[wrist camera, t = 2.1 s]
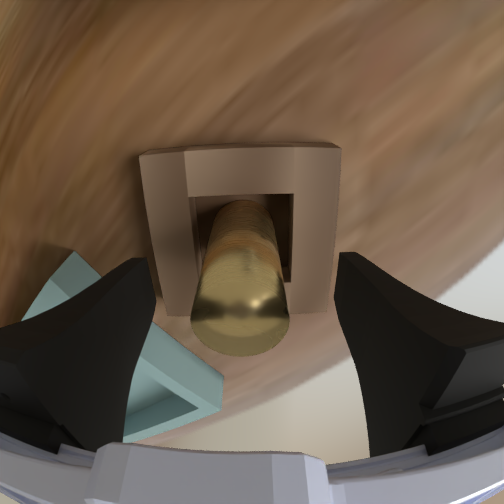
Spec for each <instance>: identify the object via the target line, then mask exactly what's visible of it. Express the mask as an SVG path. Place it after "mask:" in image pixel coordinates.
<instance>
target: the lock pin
mask: <svg viewBox="0 0 504 504" xmlns="http://www.w3.org/2000/svg"><path fill="white" fill-rule="evenodd" d="M190 319H191V325H192V329H193V331H194V333H195V335H196V336H197V337H198V339H199V340H200V341H201V342H202V343H203V344H204V345H206V346H207V347H209V348H210V349H212V350H214V351H216V352H219V353H222V354H225V355H230V356H240V357H243V356H253V355H257V354H260V353H263V352H266V351H268V350H270V349H271V348H273V347H275V346H276V345H277V344H278V343H279V342H280V341H281V340H282V339H283V338H284V336H285V335H286V333H287V330H288V327H289V322H290V320H289V311H288V305H287V299H286V293H285V287H284V281H283V275H282V270H281V264H280V258H279V252H278V247H277V241H276V235H275V230H274V224H273V220H272V217H271V215H270V214H269V212H268V211H267V210H266V209H265V208H264V207H263V206H262V205H260V204H258V203H256V202H253V201H249V200H237V201H233V202H231V203H229V204H227V205H225V206H224V207H223V208H221V209H220V211H219V212H218V213H217V215H216V217H215V219H214V223H213V227H212V230H211V234H210V238H209V242H208V246H207V250H206V254H205V257H204V261H203V265H202V269H201V273H200V277H199V282H198V286H197V290H196V294H195V298H194V302H193V306H192V311H191V318H190Z"/></svg>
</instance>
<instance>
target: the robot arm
mask: <svg viewBox="0 0 504 504" xmlns="http://www.w3.org/2000/svg"><path fill="white" fill-rule="evenodd" d="M334 301H335V306H336V311H337V315H338V319H339V322H340V325H341V327H342V330H343V333H344V336H345V338H346V341H347V344H348V347H349V349H350V352H351V355H352V358H353V360H354V363H355V366H356V370H357V373H358V377H359V382H360V387H361V391H362V396H363V403H364V409H365V415H366V422H367V430H368V438H369V450H370V458H366V459H360V460H355V461H349V462H343V463H336V464H329V465H325V463H324V461H323V460H321V459H319V458H317V457H314V456H310V455H307V454H304V453H301V452H282V451H252V452H251V451H250V452H234V451H231V452H230V451H204V450H188V449H176V448H167V447H158V446H150V445H143V444H137V443H123V435H124V425H125V416H126V410H127V404H128V397H129V392H130V387H131V383H132V378H133V374H134V371H135V368H136V365H137V362H138V359H139V356H140V354H141V351H142V348H143V345H144V343H145V340H146V337H147V335H148V332H149V329H150V326H151V324H152V320H153V315H154V311H155V306H156V297H155V293H154V289H153V285H152V280H151V276H150V271H149V267H148V262H147V258H131V259H129V260H127V261H125V262H124V263H122V264H121V265H119V266H118V267H116V268H115V269H113V270H112V271H110V272H109V273H108V274H106V275H105V276H103V277H102V278H100V279H99V280H98V281H96V282H95V283H93V284H92V285H90V286H89V287H87V288H86V289H84V290H82V291H81V292H79V293H78V294H76V295H75V296H73V297H71V298H70V299H68V300H66V301H64V302H63V303H61V304H59V305H57V306H55V307H53V308H51V309H49V310H47V311H44V312H42V313H40V314H38V315H36V316H34V317H31V318H29V319H26V320H23V321H21V322H18V323H15V324H12V325H8V326H5V327H1V328H0V492H1V493H3V494H4V495H6V496H8V497H10V498H11V499H13V500H15V501H17V502H19V503H20V504H479V503H481V502H483V501H485V500H486V499H488V498H490V497H492V496H493V495H495V494H497V493H498V492H500V491H502V490H504V401H503V399H502V398H504V388H503V386H502V385H503V384H504V323H503V322H498V321H493V320H489V319H484V318H480V317H477V316H474V315H470V314H467V313H464V312H461V311H458V310H456V309H453V308H451V307H448V306H446V305H443V304H441V303H439V302H437V301H434V300H432V299H430V298H428V297H426V296H424V295H422V294H420V293H419V292H417V291H415V290H413V289H411V288H410V287H408V286H407V285H405V284H403V283H402V282H400V281H398V280H397V279H395V278H394V277H392V276H391V275H389V274H388V273H386V272H385V271H383V270H382V269H380V268H379V267H378V266H376V265H375V264H373V263H372V262H370V261H369V260H367V259H366V258H364V257H363V256H361V255H360V254H358V253H356V252H340V253H339V262H338V270H337V278H336V285H335V292H334Z"/></svg>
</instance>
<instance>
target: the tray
mask: <svg viewBox="0 0 504 504" xmlns="http://www.w3.org/2000/svg"><path fill="white" fill-rule="evenodd" d="M100 278H102V277H101V276H100V275H99V274H98V273H97V272H96V271H95V270H94V269H93V268H92V267H91V266H90V265H89V264H88V263H87V262H86V261H84V260H83V259H82V258H81V257H80V256H79V255H78V254H77V253H76V252H75V251H74V252H73V253H72V254H71V255H70V256H69V257H68V258H67V259H66V260H65V261H64V263H63V264H62V265H61V266H60V267H59V268H58V269H57V270H56V272H55V273H54V274H53V275H52V276H51V277H50V279H49V280H48V281H47V283H46V284H45V286H44V287H43V289H42V290H41V291H40V293H39V294H38V296H37V297H36V299H35V300H34V302H33V303H32V305H31V306H30V308H29V310H28V311H27V313H26V314H25V316H24V317H23V319H22V321H23V320H26V319H29V318H31V317H34V316H36V315H38V314H40V313H42V312H44V311H47V310H49V309H51V308H53V307H55V306H57V305H59V304H61V303H63V302H64V301H66V300H68V299H70V298H71V297H73V296H75V295H76V294H78V293H79V292H81V291H82V290H84V289H86V288H87V287H89V286H90V285H92V284H93V283H95V282H96V281H98V280H99V279H100ZM223 379H224V376H223V375H222V374H220V373H219V372H217V371H216V370H215V369H213V368H212V367H210V366H209V365H208V364H206V363H205V362H204V361H202V360H201V359H200V358H198V357H197V356H196V355H194V354H193V353H192V352H190V351H189V350H188V349H186V348H185V347H184V346H182V345H181V344H180V343H179V342H177V341H176V340H175V339H173V338H172V337H171V336H170V335H168V334H167V333H166V332H165V331H163V330H162V329H161V328H160V327H158V326H157V325H156V324H155V323H154V322H152V324H151V326H150V329H149V332H148V335H147V337H146V340H145V343H144V345H143V348H142V351H141V354H140V356H139V359H138V362H137V365H136V368H135V371H134V374H133V378H132V383H131V387H130V392H129V397H128V404H127V410H126V416H125V425H124V435H123V443H132V442H135V441H138V440H141V439H145V438H148V437H151V436H154V435H157V434H160V433H163V432H166V431H169V430H171V429H174V428H177V427H180V426H183V425H185V424H188V423H191V422H193V421H196V420H198V419H201V418H204V417H206V416H209V415H211V414H214V413H216V412H218V411H221V408H222V393H223Z"/></svg>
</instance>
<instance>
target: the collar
mask: <svg viewBox="0 0 504 504" xmlns="http://www.w3.org/2000/svg"><path fill="white" fill-rule="evenodd" d="M341 150H342V148H340V147H338V146H337V145H335V144H333V143H313V142H259V143H230V144H211V145H197V146H184V147H173V148H163V149H153V150H148V151H147V152H145V153H143V154H141V155H140V156H139V161H140V169H141V177H142V184H143V191H144V198H145V205H146V211H147V217H148V223H149V229H150V235H151V240H152V246H153V251H154V256H155V261H156V266H157V271H158V276H159V281H160V285H161V290H162V294H163V299H164V303H165V308H166V312H167V316H191V311H192V306H193V302H194V298H195V294H196V290H197V286H198V282H199V277H200V273H201V269H202V258H201V250H200V241H199V232H198V223H197V213H196V203H195V197H198V196H218V195H245V194H289V242H288V267H281V270H282V275H283V281H284V287H285V293H286V299H287V305H288V311H289V314H302V313H320V312H327V305H328V297H329V290H330V282H331V274H332V265H333V256H334V247H335V237H336V226H337V215H338V202H339V187H340V171H341Z"/></svg>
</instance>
